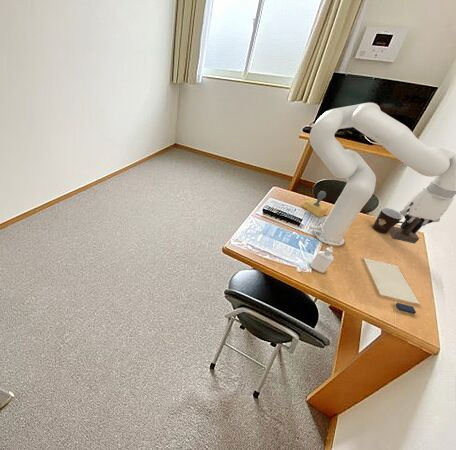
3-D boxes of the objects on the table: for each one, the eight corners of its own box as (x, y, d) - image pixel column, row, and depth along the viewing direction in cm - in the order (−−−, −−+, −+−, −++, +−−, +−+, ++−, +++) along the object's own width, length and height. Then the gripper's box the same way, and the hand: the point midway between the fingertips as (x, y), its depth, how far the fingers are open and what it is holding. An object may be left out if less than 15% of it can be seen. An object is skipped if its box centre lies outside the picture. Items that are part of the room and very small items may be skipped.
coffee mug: (366, 223, 139) (377, 207, 133) (382, 224, 139) (395, 208, 133) (380, 238, 130) (393, 221, 124) (397, 239, 130) (411, 223, 124)
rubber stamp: (302, 206, 147) (311, 187, 139) (309, 204, 149) (319, 185, 142) (318, 217, 140) (329, 197, 132) (325, 214, 142) (336, 195, 135)
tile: (379, 296, 101) (380, 294, 101) (362, 259, 117) (363, 258, 116) (418, 305, 99) (420, 304, 98) (395, 267, 114) (397, 265, 114)
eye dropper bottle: (319, 274, 107) (333, 253, 100) (308, 264, 111) (321, 243, 104) (327, 272, 109) (342, 250, 101) (315, 262, 113) (329, 241, 105)
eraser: (396, 311, 96) (400, 308, 95) (393, 305, 98) (397, 302, 97) (412, 315, 95) (416, 312, 94) (409, 309, 97) (413, 306, 96)
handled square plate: (392, 238, 109) (408, 219, 102) (387, 231, 112) (403, 212, 106) (414, 243, 107) (432, 224, 101) (409, 235, 111) (426, 217, 105)
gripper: (461, 190, 97) (425, 229, 109) (410, 180, 100) (381, 220, 112) (474, 200, 92) (435, 241, 103) (420, 190, 94) (388, 231, 106)
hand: (407, 230), depth 107 cm, fingers closed on handled square plate, 2 cm apart
